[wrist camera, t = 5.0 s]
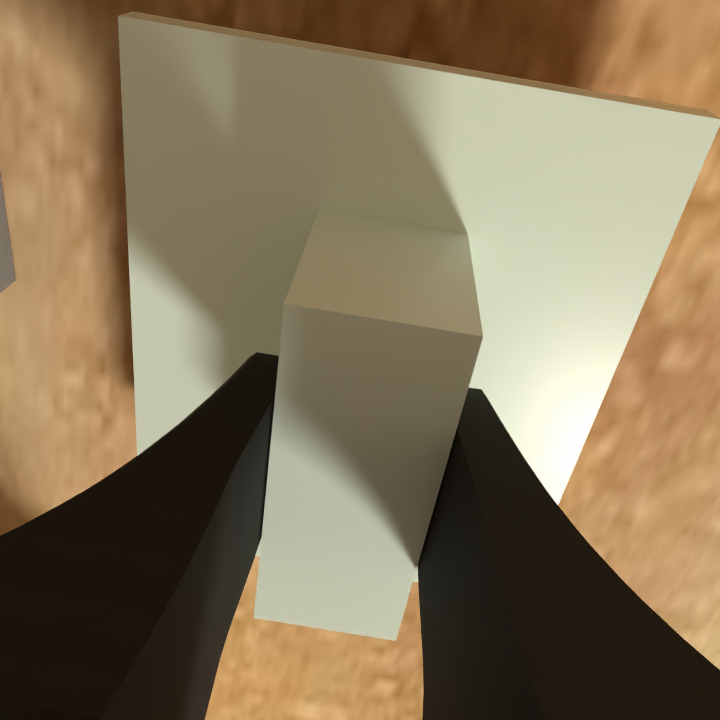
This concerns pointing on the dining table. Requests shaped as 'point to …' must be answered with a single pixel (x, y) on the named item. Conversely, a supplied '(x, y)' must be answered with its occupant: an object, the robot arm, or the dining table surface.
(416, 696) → the dining table surface
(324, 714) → the dining table surface
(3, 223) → the box
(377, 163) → the lid
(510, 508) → the robot arm
